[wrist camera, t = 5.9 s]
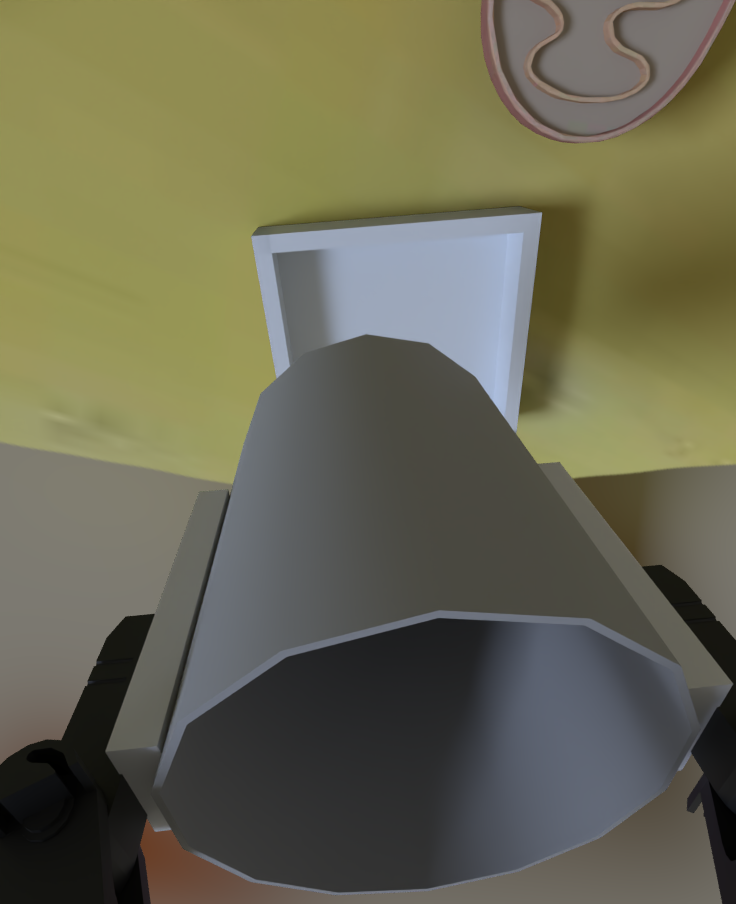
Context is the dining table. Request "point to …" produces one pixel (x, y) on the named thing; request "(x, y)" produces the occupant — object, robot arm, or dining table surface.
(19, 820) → the robot arm
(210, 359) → the dining table surface
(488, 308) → the grey tray
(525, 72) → the mitochondrion model
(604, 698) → the cup
